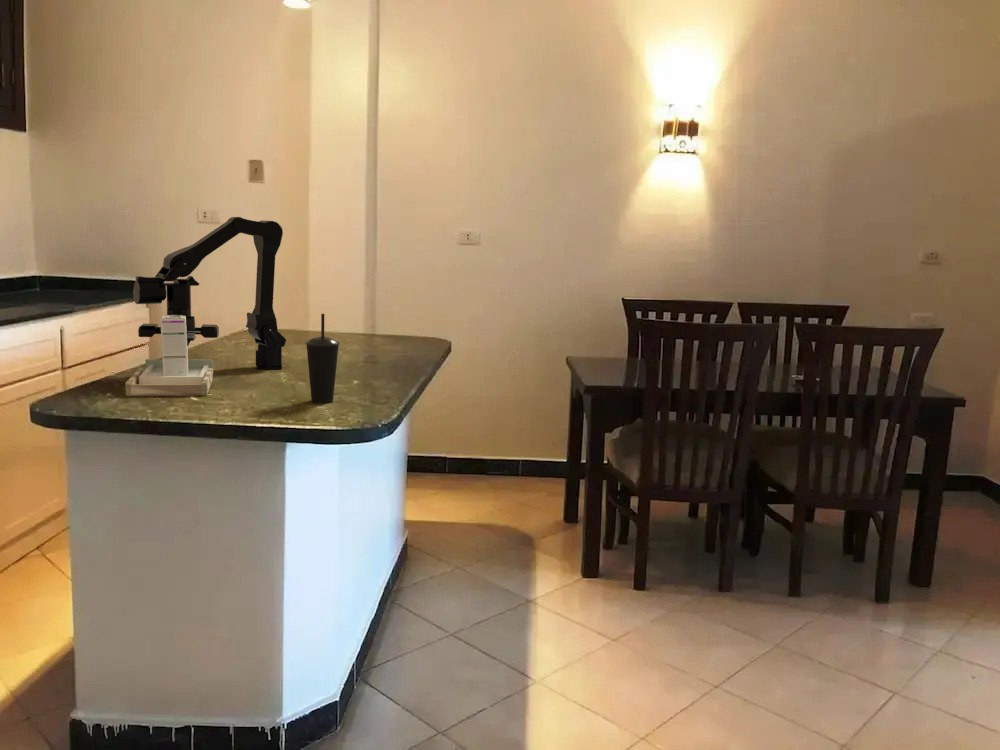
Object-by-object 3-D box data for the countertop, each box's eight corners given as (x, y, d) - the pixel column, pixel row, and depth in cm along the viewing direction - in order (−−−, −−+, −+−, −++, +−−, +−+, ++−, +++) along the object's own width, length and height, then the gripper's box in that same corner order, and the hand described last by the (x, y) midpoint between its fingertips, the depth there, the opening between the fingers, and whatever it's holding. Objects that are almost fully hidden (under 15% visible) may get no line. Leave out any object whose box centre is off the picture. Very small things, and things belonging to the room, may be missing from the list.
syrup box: (188, 377, 198) (187, 317, 196) (161, 378, 196) (160, 317, 193) (188, 373, 203) (186, 314, 201) (162, 373, 201) (160, 314, 199)
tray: (146, 371, 208) (146, 359, 208) (213, 371, 212) (213, 359, 212) (134, 385, 191) (134, 372, 190) (207, 385, 195) (207, 372, 195)
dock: (139, 380, 201) (139, 368, 200) (213, 380, 205) (212, 368, 205) (126, 396, 183) (125, 383, 183) (206, 395, 188) (206, 382, 187)
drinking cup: (310, 405, 182) (310, 315, 179) (301, 398, 189) (301, 312, 185) (343, 403, 186) (344, 315, 182) (333, 396, 193) (334, 311, 189)
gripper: (133, 305, 198) (135, 369, 201) (215, 307, 203) (216, 369, 206) (141, 301, 209) (143, 361, 212) (218, 303, 213) (219, 362, 216)
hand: (180, 364), depth 211 cm, fingers closed
